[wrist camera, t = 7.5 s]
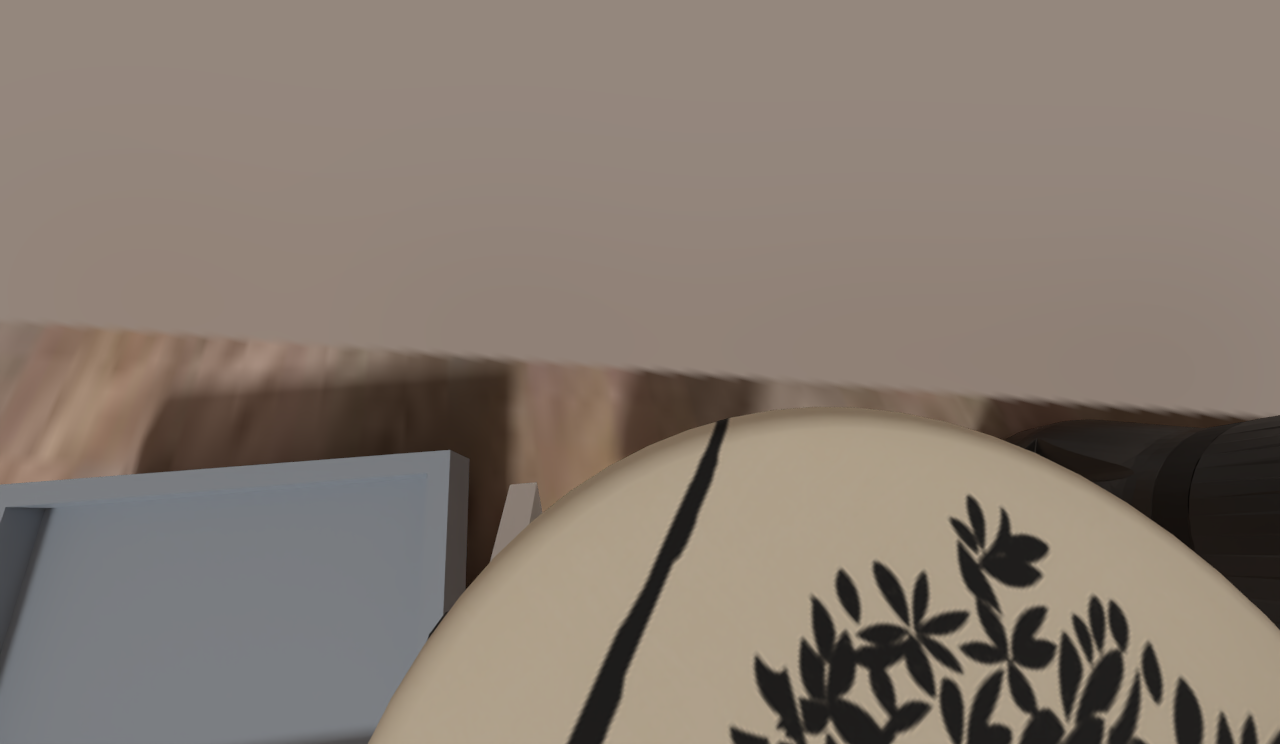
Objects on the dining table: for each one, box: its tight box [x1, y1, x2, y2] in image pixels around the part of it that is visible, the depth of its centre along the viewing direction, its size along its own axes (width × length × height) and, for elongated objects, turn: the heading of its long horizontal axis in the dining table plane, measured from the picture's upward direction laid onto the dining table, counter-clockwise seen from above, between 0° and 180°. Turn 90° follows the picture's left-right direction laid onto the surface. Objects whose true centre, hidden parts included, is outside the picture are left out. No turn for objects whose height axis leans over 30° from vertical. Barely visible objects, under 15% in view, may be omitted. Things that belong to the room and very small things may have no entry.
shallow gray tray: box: [0, 450, 469, 744], centre depth 22 cm, size 20×14×6 cm
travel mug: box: [368, 407, 1280, 744], centre depth 11 cm, size 8×8×18 cm
